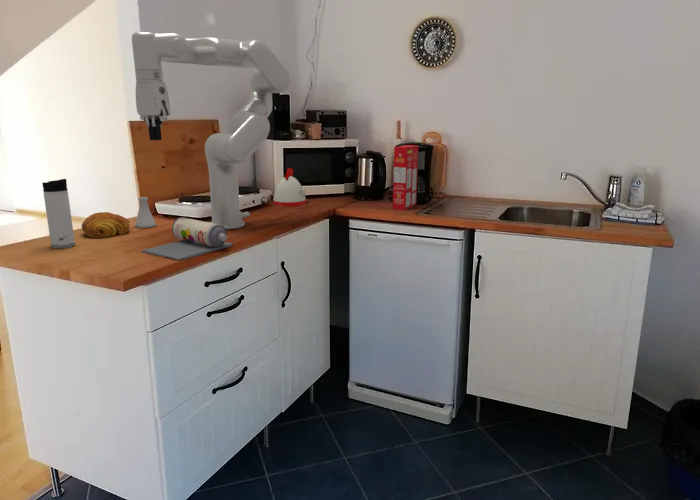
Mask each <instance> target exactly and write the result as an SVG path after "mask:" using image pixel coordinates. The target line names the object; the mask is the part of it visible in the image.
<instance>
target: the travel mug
mask: <svg viewBox="0 0 700 500" xmlns="http://www.w3.org/2000/svg"><path fill="white" fill-rule="evenodd" d="M41 184H42V189H43V190H42V191H43V198H44V206H45V212H46V220H47V225H48V234H49V239H50V247H51V248H52V249H59V250H60V249H67V248H71V247H74V246H76V245H75V244H76V242H75V234H74V228H73V221H72V220H73V219H72V212H71V211H72V210H71V204H70V199H69V198H70V197H69V192H68V191H69V190H68V184H67V178H62V179H61V178H60V179H55V180H50V181H47V182H46V181H45V182H44V181H43V182H42V183H41Z"/></svg>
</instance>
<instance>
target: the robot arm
mask: <svg viewBox="0 0 700 500" xmlns="http://www.w3.org/2000/svg"><path fill="white" fill-rule="evenodd" d="M131 44H132V45H131V48H132V54H133V55H132V57H133V62H134V63H133V64H134V72H135V81H136V82H135V105H136V106H135V107H136V111H137V114H138V116H139V119H140V120H141V121H144V122H145V124H146V127H148V135H149V141H161V140H162V127H163V126H162V125H163V122H166V121H168V116H170V115H171V104H170V97H169V92H168V89H167V85H166V82H165V81H163V80H164V78H163V77H164V74H163V68H162V62H164V63H175V64H188V65H189V64H191V65H192V64H193V65H201V66H214V67H216V66H217V67H226V68H228V67H229V68H238V69H239V68H240V69H248V68H249V69H250V68H252V69H253V68H256V70H254V71H253V72H252V73H251V76H250V80H249V81H250V82H249V83H250V92H251V93H250V94H251V95H250V98H249V99H248V101H247V102H246V103H245V104H244V105H243V106H242V107H241V108H240V109H239V110H238V111H237V112H236V113H235V114H234V115H233V116H232V117H231V118H230V120H229V122H228V126H227V130H228V133H225V132H224V133H223V132H218V133H213V134H212V135H210V136H209V137H208V138H207V140H206V141H205V143H204V154H205V155H204V156H205V157H206V158H205V159H206V163H207V168H208V177H209V179H208V180H209V193H210V194H209V195H210V209H211V210H210V211H211V221H209V223H214V224H219V225H222V226H223V227H224V228H225V230H233V229H240V228H243V227H244V226H246V222H245V221H244V220H243V219H245V218H248V217H250V212H249V211H243V212H242V211H241V210H240V196H239V195H240V193H239V176H238V174H239V173H238V168H237V165H238V164H243V163H245V162H246V161H247V160H248V159H249V158H250V157H251V156H252V155H253V154H254V153H255V152H256V151H257V150H258V149H259V147H260V146H261V145H262V144H263V143H265V141H266V140H267V138H268V136H269V133H270V130H271V127H270V126H271V125H270V120H269V119H268V118H269V116H270V115H271V113H272V111H273V94H281V93H283V92H286V91H287V90H288V89H289V87H290V84H291V76H290V72H289V71H288V69H287V67H286V66H285V65H284V63H282V62H281V60H280V59H279V58H278V57H277V56H276V54H275V53H274V52H273V51H272V49H271V48H270V47H269V46H268V45H267V44H266V43H264V42H263V41H262V40H261V39H249V40H237V39H228V38H227V39H226V38H221V37H214V36H210V37H199V38H185V37H184V36H183V35H181V34H179V33H176V32H169V33H166V32H165V33H156V32H155V33H154V32H152V31H136V32H133V33H132V34H131Z"/></svg>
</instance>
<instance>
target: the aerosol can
mask: <svg viewBox="0 0 700 500" xmlns="http://www.w3.org/2000/svg"><path fill="white" fill-rule="evenodd" d="M209 222H210V221H209ZM209 222H208V221H203V220H197V219H193V218H187V217H182V216H181V217H178V218H176V219H175V220H174V221H173V223H172V226H171V233H172V235H173V236H174V237H175V238H176V239H177V240H180V241H181V240H185V241H189V242H194V243H198V244H202V245H207V246H211V247H220V246H221V245H223V243H224V242H226V240H227V239H228V235H227V229H225V228H224V227H223V226H222V225H219V224H214V223H209Z"/></svg>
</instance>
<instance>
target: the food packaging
mask: <svg viewBox="0 0 700 500" xmlns="http://www.w3.org/2000/svg"><path fill="white" fill-rule="evenodd" d="M418 163H419V144H417V145H416V144H405V145H400V146H399V145H398V146H394V147H393V179H392V180H393V182H392V183H393V185H392V188H393V189H392V210H395V211H397V210H398V211H406V210H410V209H411V208H413V207H414V206H416V205H417V196H418V195H417V194H418V193H417V192H418V168H419V167H418V166H419V164H418Z"/></svg>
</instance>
